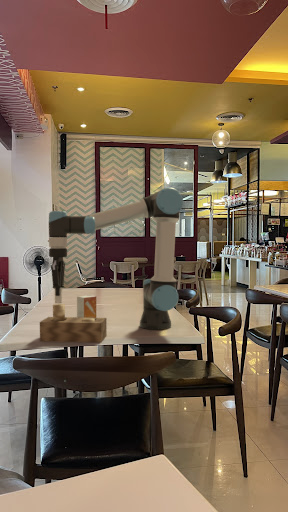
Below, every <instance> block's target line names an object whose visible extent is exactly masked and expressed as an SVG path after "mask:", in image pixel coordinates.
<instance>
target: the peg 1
mask: <svg viewBox="0 0 288 512" xmlns="http://www.w3.org/2000/svg"><path fill="white" fill-rule="evenodd" d="M65 309H66V305H65V303H54V304H53V305H52V317H53V321H65V317H66V316H65V315H66V310H65Z"/></svg>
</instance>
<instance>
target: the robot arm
mask: <svg viewBox="0 0 288 512" xmlns="http://www.w3.org/2000/svg"><path fill="white" fill-rule="evenodd" d="M183 205H184V198H183V196H182V194H181V193H180V191H179V190H178V189H176V188H173V187H164V188H162V189H160V190H158V191H157V192H154V193H152V194H151V195H148V196H146V197H143V198H140V200H139V201H136V202H132V203H128V204H125V205H120V206H117V207H113V208H110V209H106V210H103V211H102V210H101V211H100V212H99V211H98V212H96V213H91V214H88V215H83V216H82V215H79V216H78V215H76V216H75V215H73V216H71V215H68V213H67V211H64V210H52V211H50V212H49V213H48V240H47V242H48V246H49V249H48V256H49V257H50V258H53V259H52V263H51V265H50V270H51V278H52V289H54V304H63V288H65V270H66V269H65V268H66V263H65V262H64V258H66V257H68V249H67V247H68V235H70V234H71V235H72V234H75V235H81V236H82V235H92V234H95V232H96V231H97V230H98V231H99V230H100V229H105V228H108V227H111V226H115V225H119V224H122V223H123V224H124V223H127V222H130V221H135V220H137V219H138V220H139V219H140V218H145V219H149V218H153V220H154V221H155V222H156V224H155V225H156V227H155V229H156V230H155V231H156V232H155V247H154V248H155V250H154V251H155V253H154V267H153V269H154V271H153V272H154V273H153V274H154V275H153V276H152V277H151V278H147V279H144V280H143V285H142V288H143V289H142V291H143V292H142V294H143V295H142V296H143V297H142V298H143V299H142V300H143V307H142V308H143V311H142V314H141V318H140V321H139V327H140V328H142V329H144V330H145V329H146V330H157V331H158V330H165V329H166V330H167V329H169V328H171V327H172V321H171V317H170V314H169V311H170V310H172V309H174V308H175V307H176V306H177V304H178V302H179V298H180V297H179V296H180V295H179V292H178V290H177V279H176V278H175V277H174V270H175V266H174V265H175V250H176V249H175V247H176V246H175V245H176V228H177V227H176V225H177V223H178V221H180V212H181V210H182V209H183Z"/></svg>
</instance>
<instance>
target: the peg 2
mask: <svg viewBox="0 0 288 512" xmlns="http://www.w3.org/2000/svg"><path fill="white" fill-rule="evenodd" d="M83 321H84V322H94V321H95V319H94V318H85V319H83Z"/></svg>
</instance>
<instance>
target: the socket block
mask: <svg viewBox="0 0 288 512" xmlns="http://www.w3.org/2000/svg"><path fill="white" fill-rule="evenodd" d="M83 319H85V318H84V317H77V316H76V317H75V316H73V317H72V316H70V317H69V316H65V321H53V316H48V317H46V318H44V319H42V320H40V322H39V342H63V343H64V342H66V343H102V342H104V340H105V339H106V338H107V329H108V328H107V326H108V325H107V317H96V318H94V319H95V321H94V322H84V321H83Z"/></svg>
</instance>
